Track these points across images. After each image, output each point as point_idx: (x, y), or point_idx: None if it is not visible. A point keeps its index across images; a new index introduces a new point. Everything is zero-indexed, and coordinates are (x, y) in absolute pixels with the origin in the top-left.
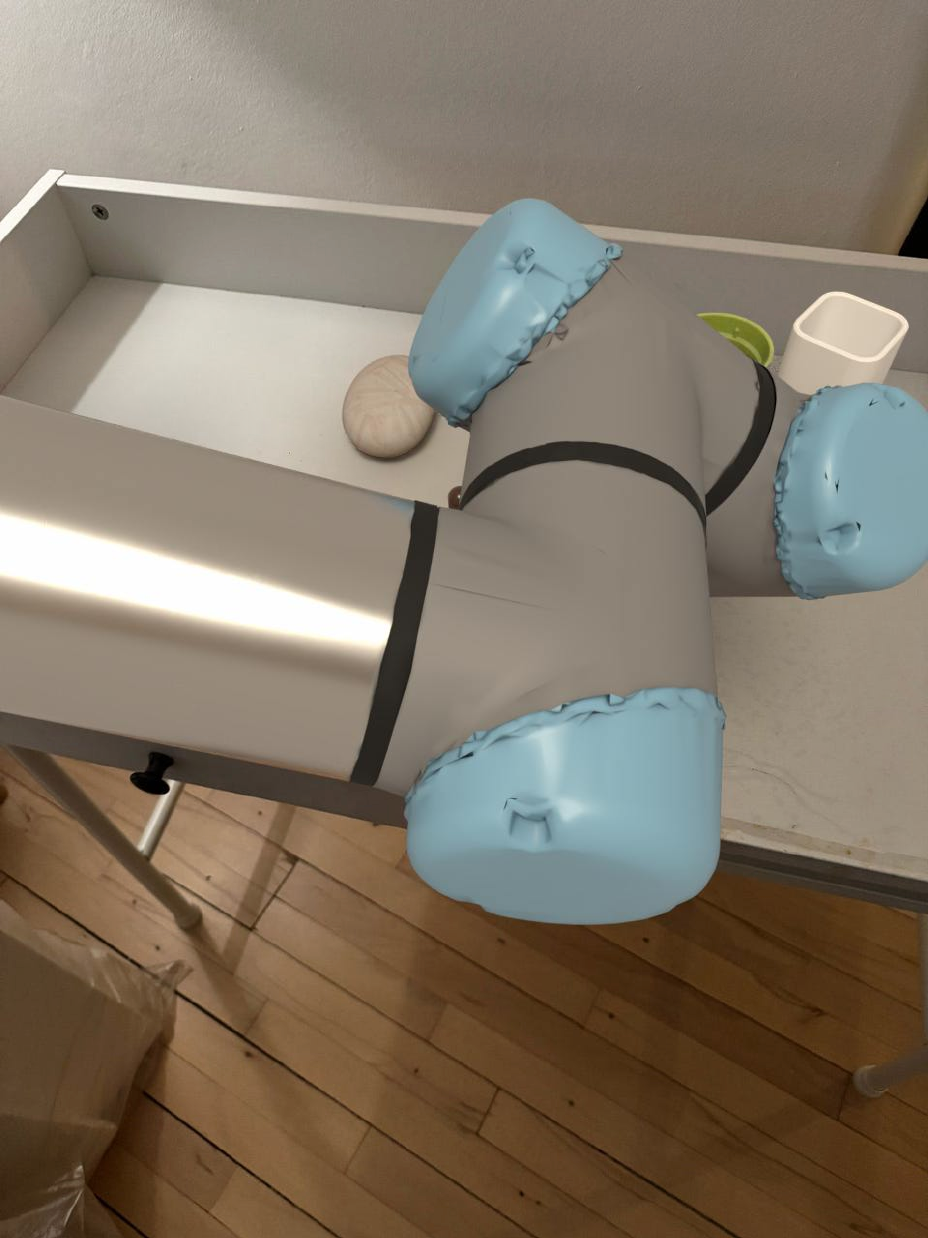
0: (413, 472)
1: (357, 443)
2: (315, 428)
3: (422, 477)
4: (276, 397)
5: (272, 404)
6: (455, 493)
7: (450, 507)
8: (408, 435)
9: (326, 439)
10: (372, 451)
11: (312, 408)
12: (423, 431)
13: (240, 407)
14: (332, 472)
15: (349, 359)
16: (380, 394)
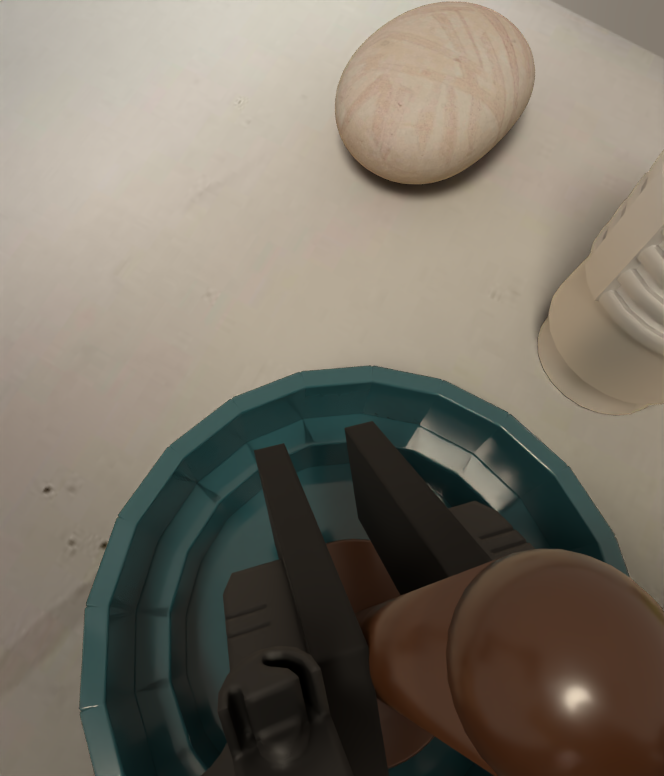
0: (413, 225)
1: (342, 127)
2: (302, 83)
3: (424, 241)
4: (275, 14)
5: (263, 21)
6: (561, 690)
7: (437, 687)
8: (437, 152)
9: (307, 107)
10: (360, 153)
11: (316, 52)
12: (468, 159)
13: (215, 6)
14: (284, 162)
15: (411, 9)
16: (426, 53)
